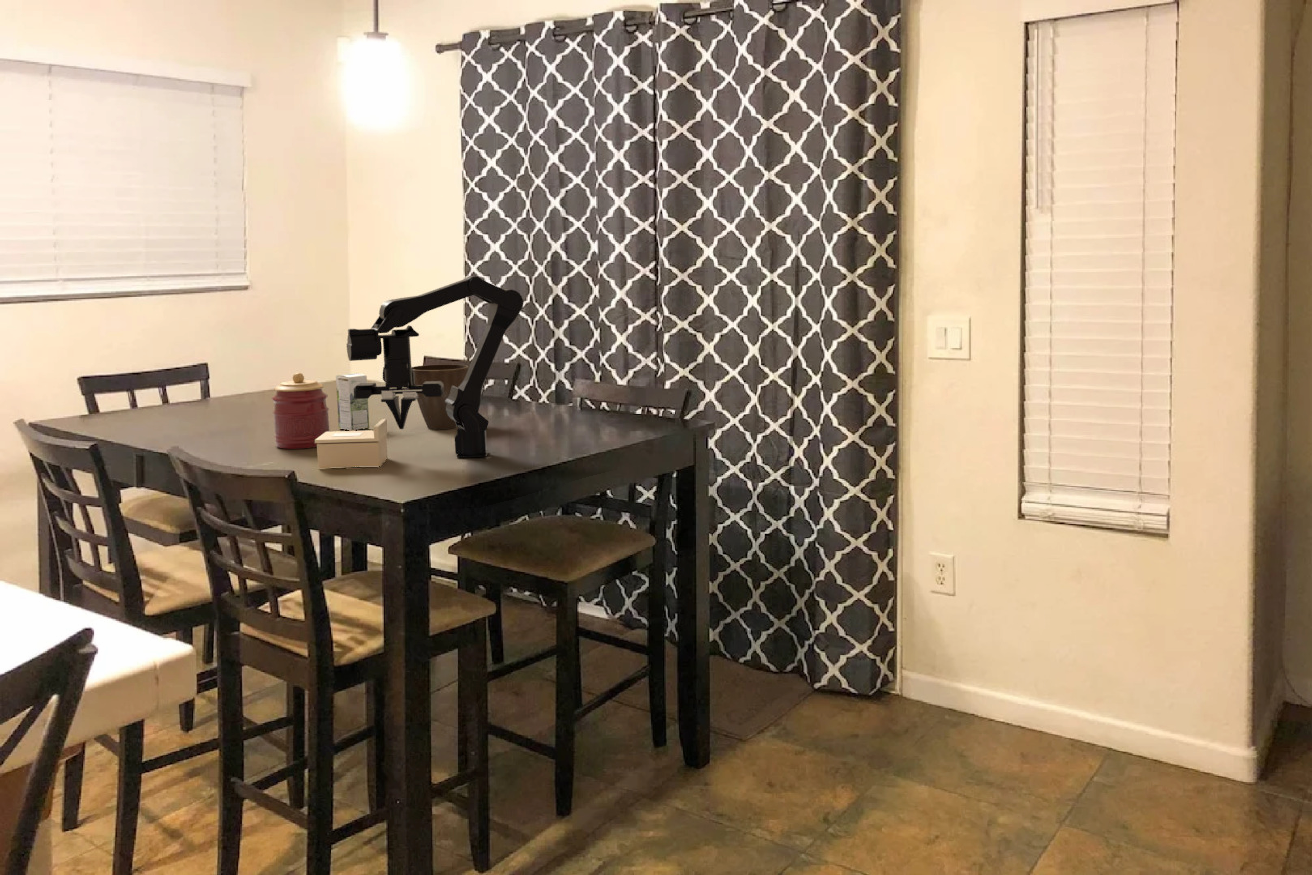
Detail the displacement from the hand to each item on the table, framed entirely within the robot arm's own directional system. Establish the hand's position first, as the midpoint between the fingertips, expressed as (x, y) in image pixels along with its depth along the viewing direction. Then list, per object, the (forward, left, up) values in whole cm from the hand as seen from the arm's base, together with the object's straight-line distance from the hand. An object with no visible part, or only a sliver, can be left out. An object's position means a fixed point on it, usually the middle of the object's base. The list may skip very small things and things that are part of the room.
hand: (401, 428), depth 242 cm
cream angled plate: (+11, 0, -2) cm, 11 cm away
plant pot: (-3, -47, -8) cm, 47 cm away
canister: (+28, -27, -8) cm, 40 cm away
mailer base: (+11, 0, -8) cm, 13 cm away
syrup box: (+20, -48, -8) cm, 52 cm away
